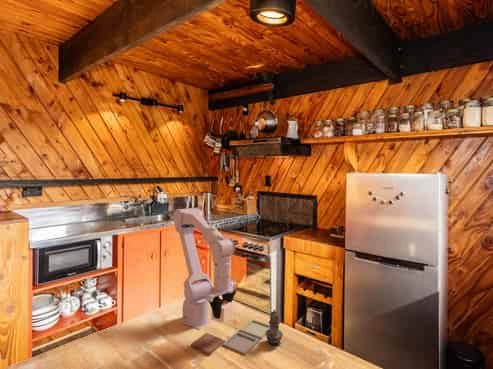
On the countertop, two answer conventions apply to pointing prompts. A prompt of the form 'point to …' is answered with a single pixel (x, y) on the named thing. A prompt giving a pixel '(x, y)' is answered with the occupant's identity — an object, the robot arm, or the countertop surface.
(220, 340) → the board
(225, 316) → the letter cube
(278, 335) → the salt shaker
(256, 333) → the tray sage
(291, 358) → the countertop surface
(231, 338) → the tray grey
